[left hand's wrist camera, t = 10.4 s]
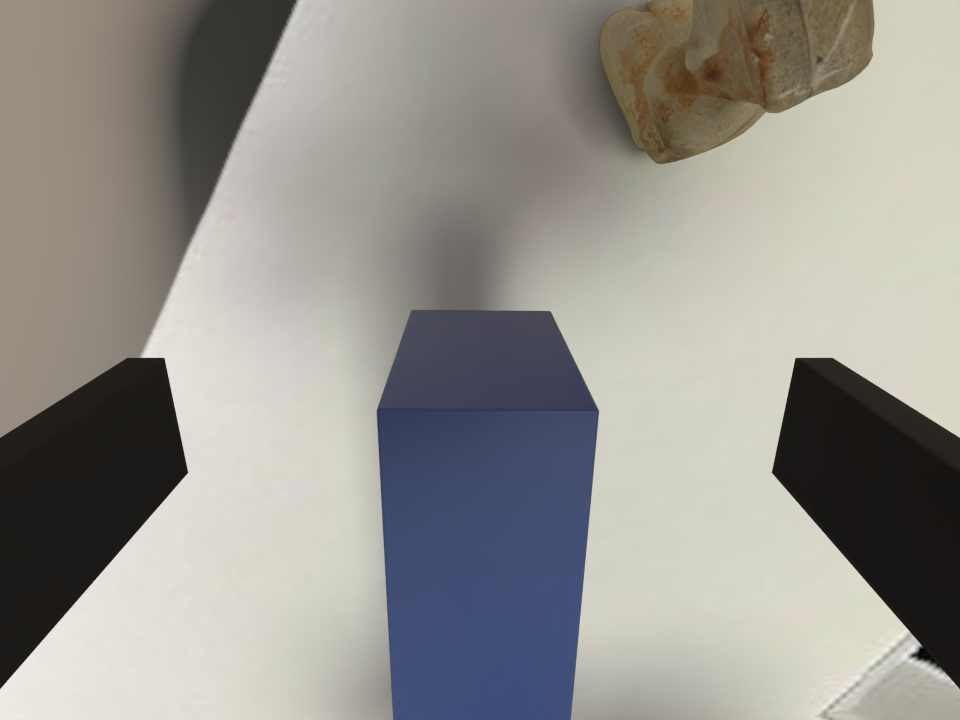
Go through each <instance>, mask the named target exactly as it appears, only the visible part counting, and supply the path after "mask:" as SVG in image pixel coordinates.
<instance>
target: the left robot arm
mask: <svg viewBox="0 0 960 720" xmlns="http://www.w3.org/2000/svg"><path fill="white" fill-rule="evenodd" d="M187 473H188V470H187V465H186V460H185V456H184V451H183V446H182V441H181V436H180V431H179V427H178V422H177V417H176V412H175V407H174V402H173V398H172V393H171V388H170V383H169V378H168V373H167V368H166V364H165V359H164V358H127V359H125V360H124V361H122V362H120V363H119V364H117V365H116V366H114V367H112V368H111V369H109V370H108V371H106V372H104V373H103V374H101V375H100V376H98V377H96V378H95V379H93V380H92V381H90V382H89V383H87V384H85V385H84V386H82V387H81V388H79V389H77V390H76V391H74V392H73V393H71V394H69V395H68V396H66V397H65V398H63V399H61V400H60V401H58V402H57V403H55V404H54V405H52V406H50V407H49V408H47V409H46V410H44V411H42V412H41V413H39V414H38V415H36V416H34V417H33V418H31V419H30V420H28V421H26V422H25V423H23V424H22V425H20V426H19V427H17V428H15V429H14V430H12V431H10V432H9V433H7V434H6V435H4V436H3V437H1V438H0V689H1V687H2V686H3V685H4V684H5V683H6V682H7V681H8V679H9V678H10V677H11V676H12V675H13V674H14V672H15V671H16V670H17V669H18V668H19V667H20V666H21V664H22V663H23V662H24V661H25V660H26V659H27V658H28V656H29V655H30V654H31V653H32V652H33V651H34V649H35V648H36V647H37V646H38V645H39V644H40V643H41V641H42V640H43V639H44V638H45V637H46V636H47V634H48V633H49V632H50V631H51V630H52V629H53V628H54V626H55V625H56V624H57V623H58V622H59V621H60V620H61V618H62V617H63V616H64V615H65V614H66V613H67V611H68V610H69V609H70V608H71V607H72V606H73V605H74V603H75V602H76V601H77V600H78V599H79V598H80V597H81V595H82V594H83V593H84V592H85V591H86V590H87V588H88V587H89V586H90V585H91V584H92V583H93V582H94V580H95V579H96V578H97V577H98V576H99V575H100V573H101V572H102V571H103V570H104V569H105V568H106V567H107V565H108V564H109V563H110V562H111V561H112V560H113V559H114V557H115V556H116V555H117V554H118V553H119V552H120V550H121V549H122V548H123V547H124V546H125V545H126V544H127V542H128V541H129V540H130V539H131V538H132V537H133V535H134V534H135V533H136V532H137V531H138V530H139V529H140V527H141V526H142V525H143V524H144V523H145V522H146V521H147V519H148V518H149V517H150V516H151V515H152V514H153V512H154V511H155V510H156V509H157V508H158V507H159V506H160V504H161V503H162V502H163V501H164V500H165V499H166V497H167V496H168V495H169V494H170V493H171V492H172V491H173V489H174V488H175V487H176V486H177V485H178V484H179V483H180V481H181V480H182V479H183V478H184V477H185V476H186V474H187ZM772 473H773V474H774V476H775V477H776V478H777V479H778V480H779V481H780V483H781V484H782V485H783V486H784V487H785V488H786V489H787V491H788V492H789V493H790V494H791V495H792V496H793V497H794V499H795V500H796V501H797V502H798V503H799V504H800V506H801V507H802V508H803V509H804V510H805V511H806V512H807V514H808V515H809V516H810V517H811V518H812V519H813V521H814V522H815V523H816V524H817V525H818V526H819V527H820V529H821V530H822V531H823V532H824V533H825V534H826V535H827V537H828V538H829V539H830V540H831V541H832V542H833V544H834V545H835V546H836V547H837V548H838V549H839V550H840V552H841V553H842V554H843V555H844V556H845V557H846V559H847V560H848V561H849V562H850V563H851V564H852V565H853V567H854V568H855V569H856V570H857V571H858V572H859V573H860V575H861V576H862V577H863V578H864V579H865V580H866V582H867V583H868V584H869V585H870V586H871V587H872V588H873V590H874V591H875V592H876V593H877V594H878V595H879V596H880V598H881V599H882V600H883V601H884V602H885V603H886V605H887V606H888V607H889V608H890V609H891V610H892V611H893V613H894V614H895V615H896V616H897V617H898V618H899V620H900V621H901V622H902V623H903V624H904V625H905V626H906V628H907V629H908V630H909V631H910V632H911V633H912V634H913V636H914V637H915V638H916V639H917V640H918V641H919V643H920V644H921V645H922V646H923V647H924V648H925V649H926V651H927V652H928V653H929V654H930V655H931V656H932V658H933V659H934V660H935V661H936V662H937V663H938V664H939V666H940V667H941V668H942V669H943V670H944V671H945V672H946V674H947V675H948V676H949V677H950V678H951V679H952V681H953V682H954V683H955V684H956V685H957V686H958V687H959V689H960V438H959V437H957V436H956V435H954V434H953V433H951V432H950V431H948V430H946V429H945V428H943V427H942V426H940V425H938V424H937V423H935V422H934V421H932V420H930V419H929V418H927V417H926V416H924V415H922V414H921V413H919V412H918V411H916V410H915V409H913V408H911V407H910V406H908V405H907V404H905V403H903V402H902V401H900V400H899V399H897V398H895V397H894V396H892V395H891V394H889V393H887V392H886V391H884V390H883V389H881V388H879V387H878V386H876V385H875V384H873V383H872V382H870V381H868V380H867V379H865V378H864V377H862V376H860V375H859V374H857V373H856V372H854V371H852V370H851V369H849V368H848V367H846V366H844V365H843V364H841V363H840V362H838V361H836V360H835V359H833V358H796V359H795V364H794V368H793V373H792V378H791V383H790V388H789V393H788V398H787V402H786V407H785V412H784V417H783V422H782V427H781V431H780V436H779V441H778V446H777V451H776V456H775V460H774V465H773V470H772Z"/></svg>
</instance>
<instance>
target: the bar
mask: <svg viewBox="0 0 960 720" xmlns="http://www.w3.org/2000/svg"><path fill="white" fill-rule="evenodd" d="M598 417H599V410H598V408H597V406H596V404H595V402H594V400H593V398H592V396H591V394H590V391H589V389H588V387H587V385H586V383H585V381H584V379H583V377H582V375H581V373H580V371H579V369H578V367H577V365H576V363H575V361H574V359H573V357H572V354H571V352H570V350H569V348H568V346H567V344H566V342H565V340H564V338H563V336H562V334H561V332H560V330H559V328H558V326H557V324H556V322H555V320H554V317H553V315H552V313H551V312H550V311H462V310H412V311H411V313H410V316H409V319H408V322H407V325H406V328H405V330H404V333H403V336H402V339H401V342H400V345H399V348H398V351H397V354H396V356H395V359H394V362H393V365H392V368H391V371H390V374H389V377H388V380H387V382H386V385H385V388H384V391H383V394H382V397H381V400H380V403H379V406H378V408H377V425H378V443H379V462H380V481H381V499H382V518H383V537H384V555H385V574H386V593H387V611H388V630H389V649H390V667H391V686H392V705H393V720H571V711H572V700H573V689H574V678H575V667H576V656H577V645H578V635H579V624H580V613H581V602H582V591H583V580H584V569H585V558H586V548H587V537H588V526H589V515H590V504H591V493H592V482H593V471H594V460H595V450H596V439H597V428H598Z"/></svg>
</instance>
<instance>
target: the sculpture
mask: <svg viewBox="0 0 960 720" xmlns="http://www.w3.org/2000/svg"><path fill="white" fill-rule="evenodd" d="M873 35H874V11H873V1H872V0H651V1H650V2H649V3H648V4H647V6H646V12H641V11H638V10H635V9H633V8H631V7H628V8H625V9H623V10H620V11H618V12H616V13H614V14H613V15H611V16H610V17H609V19H608V20H607V21H606V23H605V24H604V26H603V28H602V31H601V35H600V53H601V59H602V63H603V66H604V70H605V73H606V76H607V78H608V81H609V83H610V86H611V88H612V91H613V93H614V95H615V97H616V99H617V102H618V104H619V106H620V108H621V110H622V112H623V114H624V116H625V118H626V120H627V122H628V125H629V128H630V131H631V135H632V138H633V141H634V143H635V144H636V146H637V147H638V148H639V149H640V150H642V151H646V153H647V154H648V155H649V156H650V157H651V158H652V160H653V161H655V162H656V163H658V164H665V163H670V162H675V161H679V160H682V159H686V158H689V157H692V156H694V155H697V154H700V153H703V152H706V151H709V150H711V149H713V148H716V147H718V146H721V145H723V144H725V143H727V142H729V141H731V140H732V139H734V138H736V137H738V136H739V135H741V134H743V133H744V132H745V131H746V130H748V129H749V128H750V127H751V126H752V125H753V124H754V123H755V122H756V121H757V120H758V119H759V118H760V117H761V116H762V115H763V114H764V113H765V112H768V113H779V112H782V111H784V110H787V109H789V108H791V107H793V106H796V105H798V104H800V103H801V102H803V101H804V100H806V99H808V98H810V97H812V96H815V95H817V94H820V93H822V92H825V91H828V90H831V89H834V88H837V87H839V86H841V85H843V84H845V83H847V82H849V81H850V80H852V79H853V78H855V77H856V76H857V75H858V74H860V73H861V72H862V71H863V70H864V69H865V68H866V67H867V66H868V64H869V62H870V60H871V58H872V56H873V52H872V39H873Z"/></svg>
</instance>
